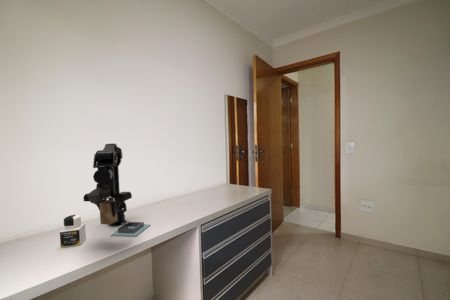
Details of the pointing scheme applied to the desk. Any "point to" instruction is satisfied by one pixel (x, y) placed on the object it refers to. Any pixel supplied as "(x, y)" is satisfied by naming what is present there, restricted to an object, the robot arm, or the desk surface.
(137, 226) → the socket holder
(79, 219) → the medicine bottle
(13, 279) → the desk surface
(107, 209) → the walnut peg
